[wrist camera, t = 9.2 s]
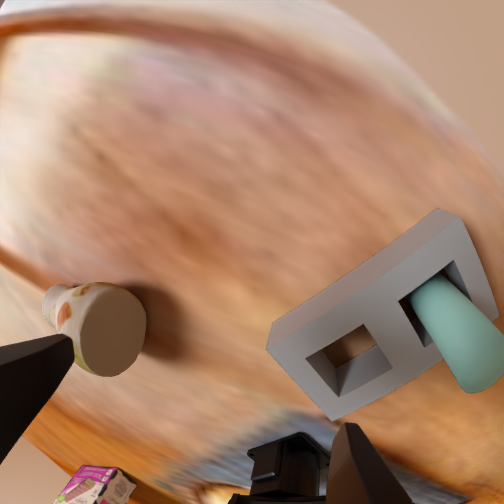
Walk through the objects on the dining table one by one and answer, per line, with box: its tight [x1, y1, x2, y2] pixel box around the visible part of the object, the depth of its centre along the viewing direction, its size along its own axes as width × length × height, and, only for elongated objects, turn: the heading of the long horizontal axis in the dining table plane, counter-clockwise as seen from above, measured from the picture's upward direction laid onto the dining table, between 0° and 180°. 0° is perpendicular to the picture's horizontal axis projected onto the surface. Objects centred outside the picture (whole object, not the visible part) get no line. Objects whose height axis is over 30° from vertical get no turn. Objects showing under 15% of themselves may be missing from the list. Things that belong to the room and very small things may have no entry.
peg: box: [405, 272, 504, 393], centre depth 14 cm, size 3×3×10 cm
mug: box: [42, 282, 147, 377], centre depth 21 cm, size 8×10×10 cm
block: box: [266, 208, 499, 421], centre depth 18 cm, size 8×14×4 cm, turn 129°
